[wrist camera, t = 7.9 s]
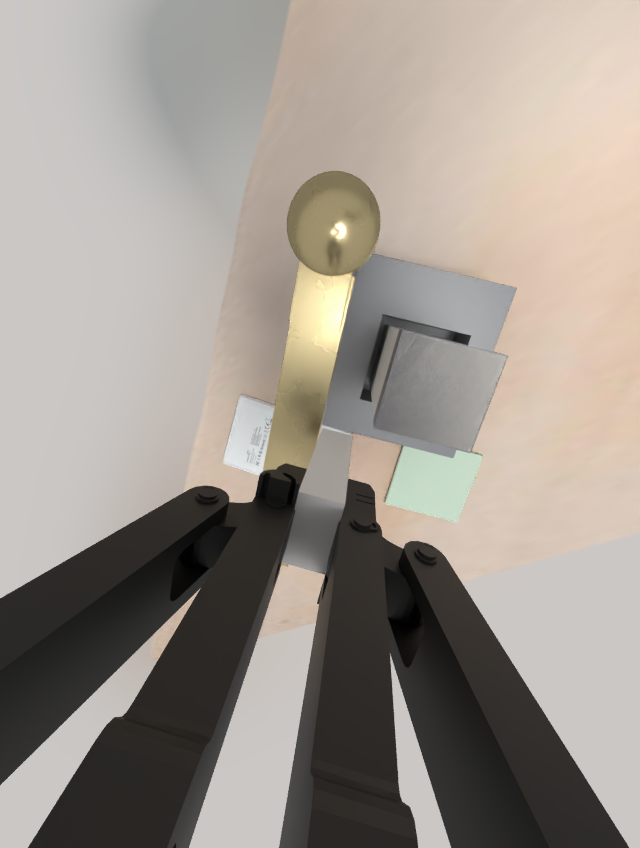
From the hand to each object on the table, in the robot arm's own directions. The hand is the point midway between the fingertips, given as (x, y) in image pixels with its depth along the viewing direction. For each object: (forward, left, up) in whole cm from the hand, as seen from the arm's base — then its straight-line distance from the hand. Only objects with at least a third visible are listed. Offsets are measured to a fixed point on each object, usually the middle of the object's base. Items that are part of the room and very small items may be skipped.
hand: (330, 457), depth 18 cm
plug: (-4, +5, -19) cm, 20 cm away
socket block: (-4, +3, -21) cm, 21 cm away
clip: (-2, -2, -3) cm, 4 cm away
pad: (+8, +11, -21) cm, 25 cm away
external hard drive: (+8, -5, -21) cm, 24 cm away
